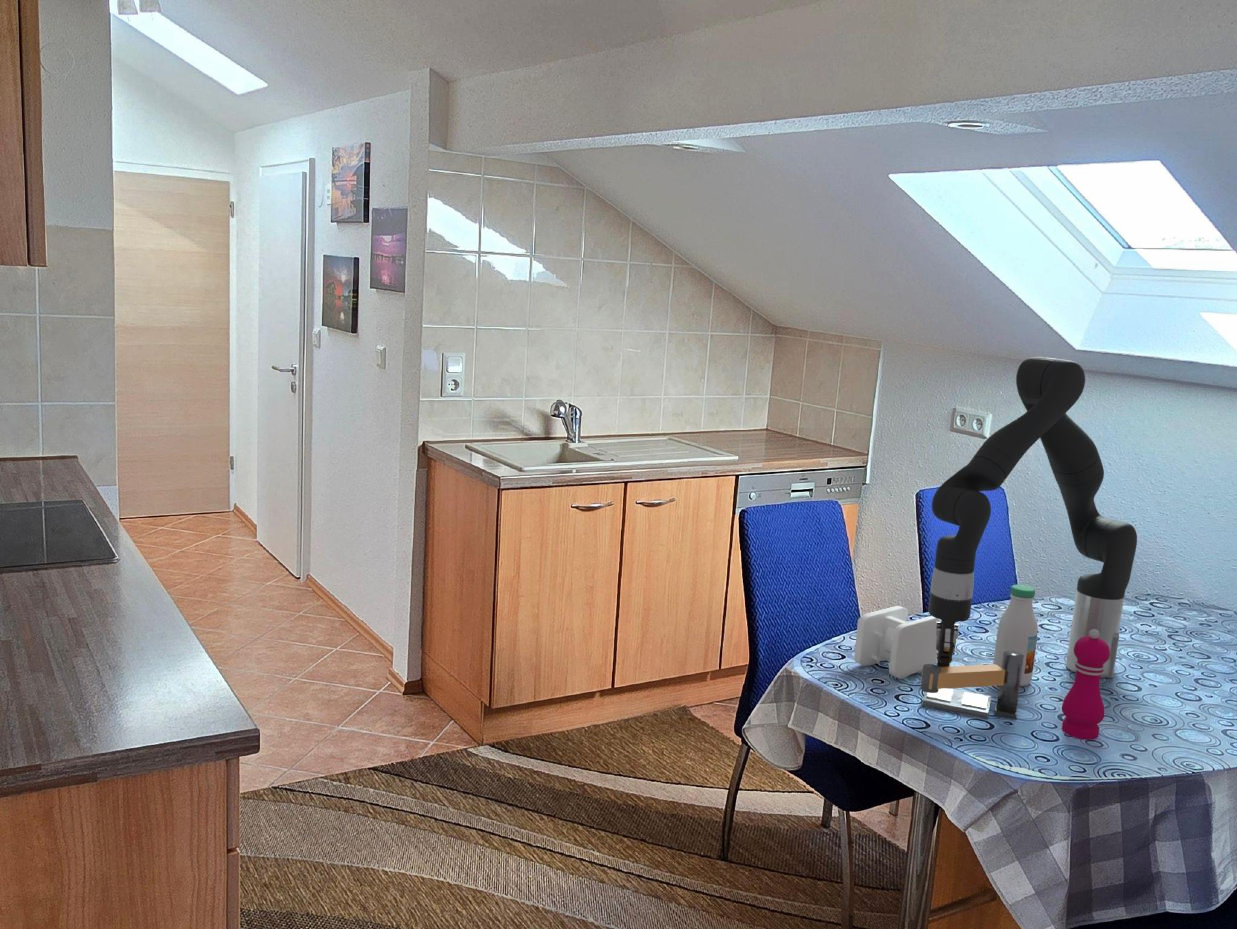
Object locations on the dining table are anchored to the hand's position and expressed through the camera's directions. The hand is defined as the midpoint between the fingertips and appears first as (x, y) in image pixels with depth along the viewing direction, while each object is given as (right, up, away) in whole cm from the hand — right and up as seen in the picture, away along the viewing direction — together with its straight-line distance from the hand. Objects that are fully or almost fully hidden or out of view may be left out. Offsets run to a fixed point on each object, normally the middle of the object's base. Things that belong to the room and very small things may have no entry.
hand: (941, 678), depth 199 cm
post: (+12, -7, 0) cm, 14 cm away
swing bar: (+2, -1, -3) cm, 4 cm away
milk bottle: (+20, -4, +17) cm, 27 cm away
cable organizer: (-4, -2, +21) cm, 21 cm away
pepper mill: (+23, -9, -6) cm, 26 cm away
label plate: (+4, -6, +4) cm, 8 cm away
